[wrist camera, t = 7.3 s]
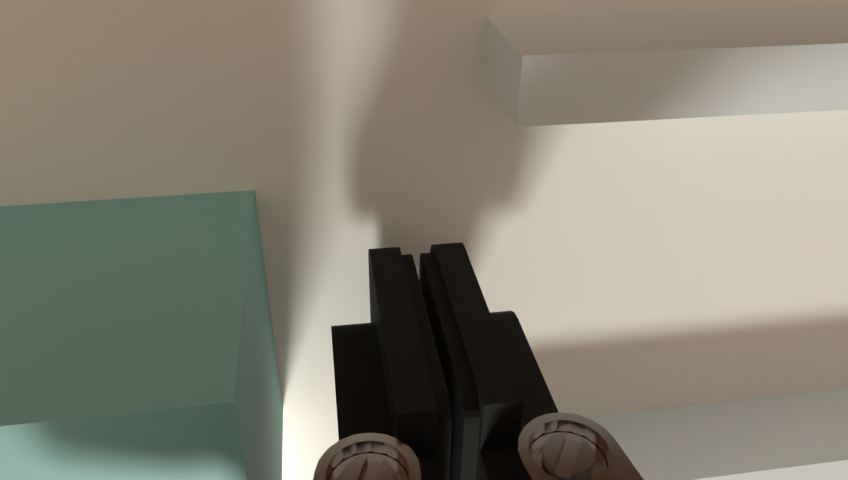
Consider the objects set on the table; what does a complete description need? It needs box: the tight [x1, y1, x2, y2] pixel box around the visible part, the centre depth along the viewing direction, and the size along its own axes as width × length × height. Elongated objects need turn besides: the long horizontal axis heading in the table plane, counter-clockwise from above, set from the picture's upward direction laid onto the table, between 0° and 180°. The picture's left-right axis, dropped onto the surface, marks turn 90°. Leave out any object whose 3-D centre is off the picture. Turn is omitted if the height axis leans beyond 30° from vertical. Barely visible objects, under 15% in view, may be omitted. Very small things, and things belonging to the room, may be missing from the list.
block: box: [0, 190, 283, 480], centre depth 11 cm, size 5×5×5 cm
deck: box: [0, 0, 848, 480], centre depth 14 cm, size 28×14×4 cm, turn 89°
